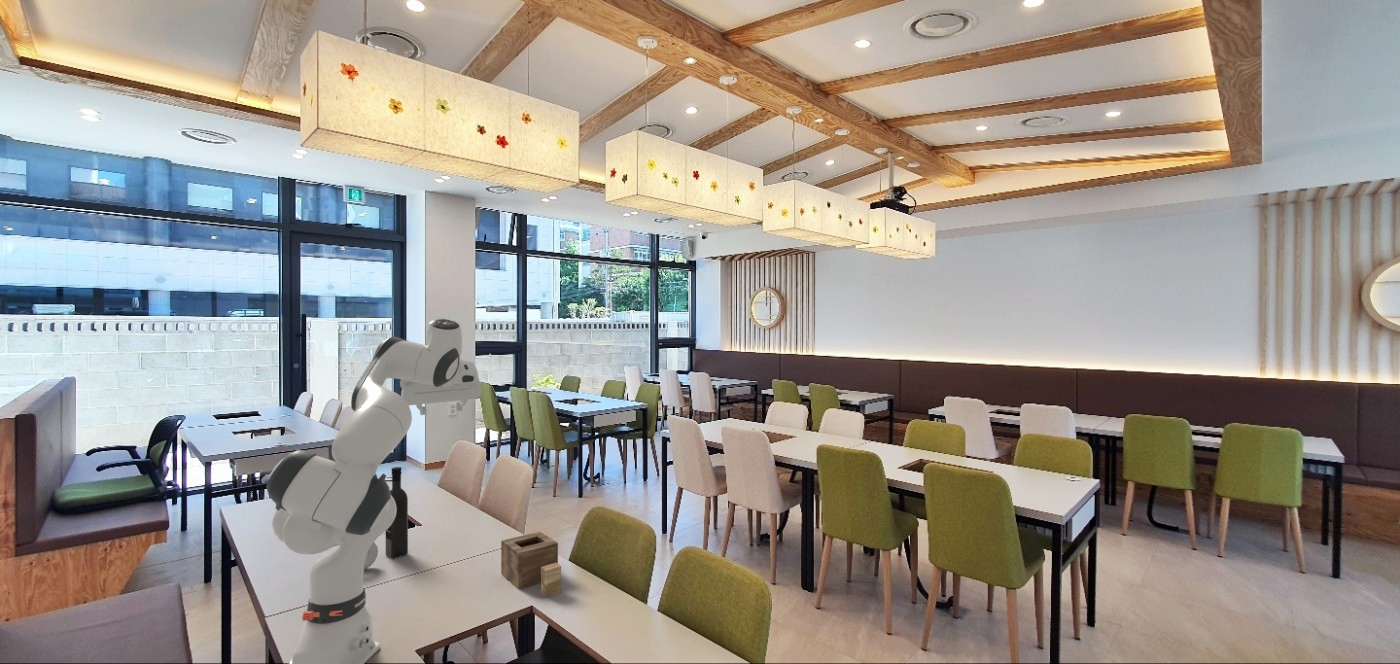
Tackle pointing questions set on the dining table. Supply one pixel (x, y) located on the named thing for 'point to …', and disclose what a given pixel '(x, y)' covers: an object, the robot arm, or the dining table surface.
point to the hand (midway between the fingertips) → (441, 411)
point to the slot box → (527, 558)
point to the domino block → (550, 579)
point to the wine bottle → (398, 519)
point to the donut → (371, 556)
